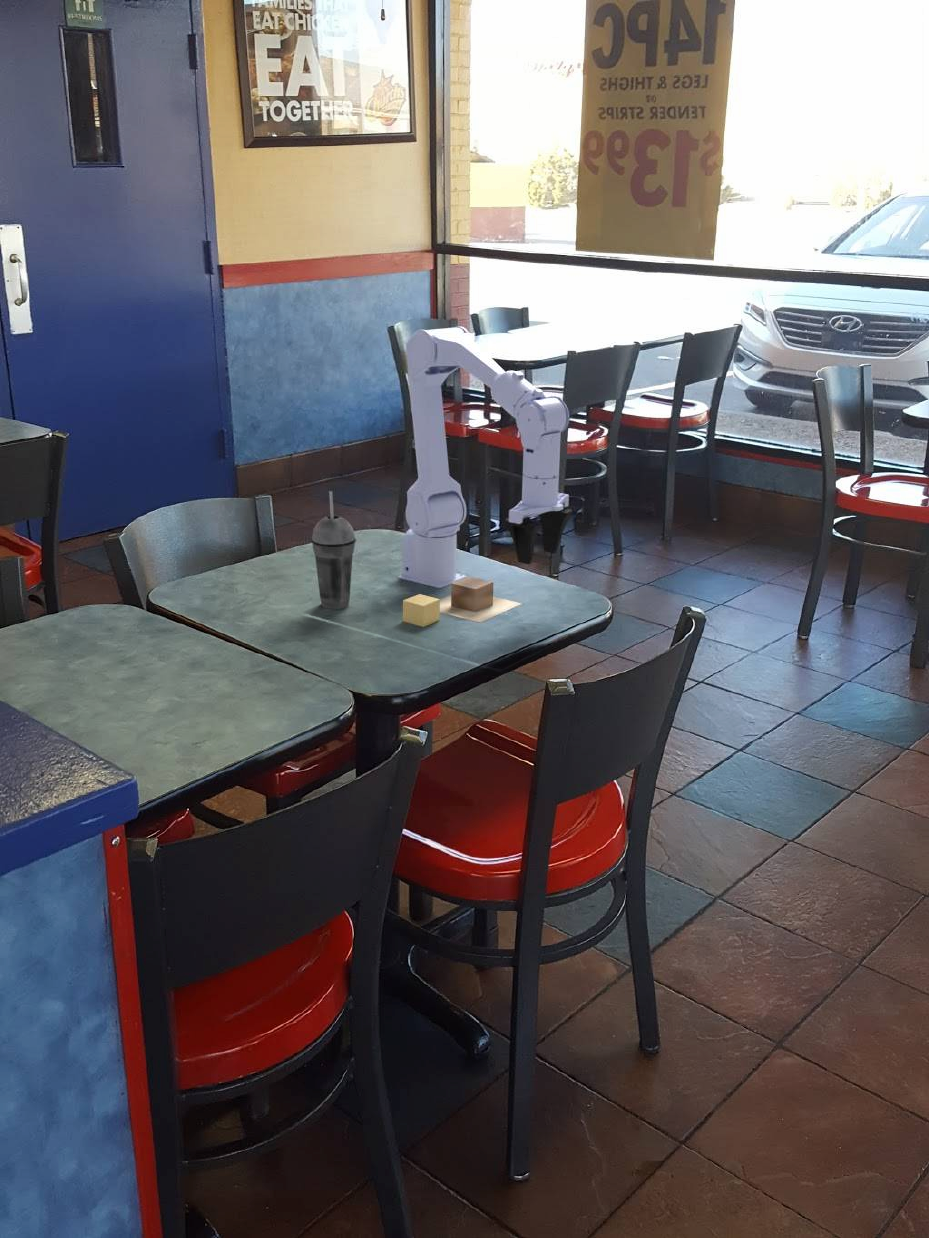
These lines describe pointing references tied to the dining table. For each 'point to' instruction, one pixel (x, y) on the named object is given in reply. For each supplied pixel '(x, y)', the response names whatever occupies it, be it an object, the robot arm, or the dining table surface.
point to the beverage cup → (334, 559)
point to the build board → (479, 616)
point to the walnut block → (472, 594)
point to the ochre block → (421, 610)
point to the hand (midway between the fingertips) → (537, 557)
